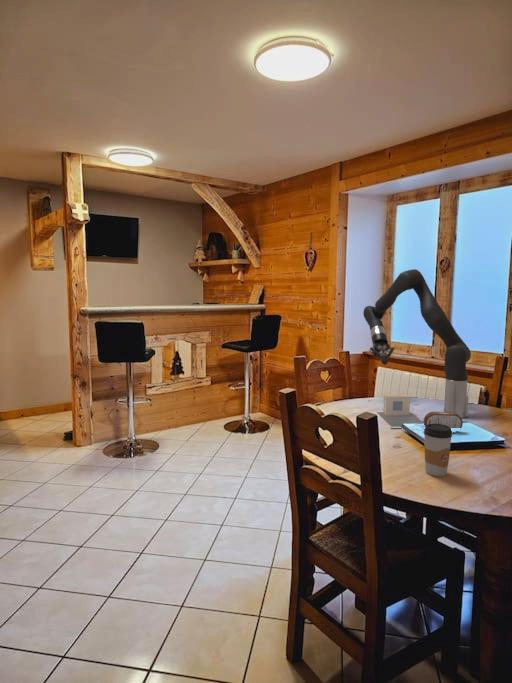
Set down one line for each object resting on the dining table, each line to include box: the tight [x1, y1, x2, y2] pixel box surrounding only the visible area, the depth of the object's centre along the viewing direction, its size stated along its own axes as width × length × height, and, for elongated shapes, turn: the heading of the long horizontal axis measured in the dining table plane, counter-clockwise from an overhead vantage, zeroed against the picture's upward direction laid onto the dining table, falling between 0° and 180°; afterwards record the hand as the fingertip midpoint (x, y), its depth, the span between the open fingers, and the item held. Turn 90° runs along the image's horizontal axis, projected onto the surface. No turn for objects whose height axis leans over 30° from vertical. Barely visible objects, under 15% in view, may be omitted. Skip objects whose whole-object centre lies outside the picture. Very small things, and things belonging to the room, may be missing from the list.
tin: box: [423, 411, 464, 429], centre depth 182 cm, size 15×3×8 cm, turn 84°
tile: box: [383, 394, 411, 416], centre depth 203 cm, size 11×3×9 cm, turn 91°
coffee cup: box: [423, 424, 453, 477], centre depth 140 cm, size 8×8×15 cm
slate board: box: [376, 411, 424, 430], centre depth 197 cm, size 16×22×1 cm
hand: (385, 363), depth 220 cm, fingers closed
